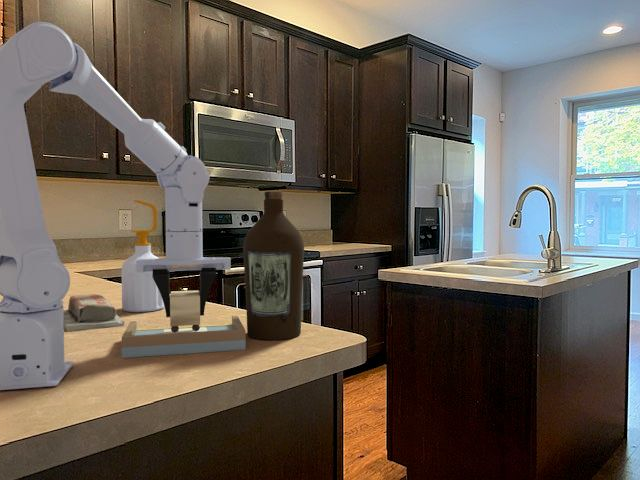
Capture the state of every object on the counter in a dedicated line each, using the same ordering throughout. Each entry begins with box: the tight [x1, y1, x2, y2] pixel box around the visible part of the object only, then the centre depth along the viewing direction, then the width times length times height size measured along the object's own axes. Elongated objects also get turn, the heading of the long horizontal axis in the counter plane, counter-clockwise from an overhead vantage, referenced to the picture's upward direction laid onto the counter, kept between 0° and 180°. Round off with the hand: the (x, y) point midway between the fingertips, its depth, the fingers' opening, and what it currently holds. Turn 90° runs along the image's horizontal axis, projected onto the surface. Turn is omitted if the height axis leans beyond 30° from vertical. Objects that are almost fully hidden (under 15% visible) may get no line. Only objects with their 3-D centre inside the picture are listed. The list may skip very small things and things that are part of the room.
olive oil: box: [242, 191, 305, 341], centre depth 87 cm, size 11×11×25 cm
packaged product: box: [63, 293, 125, 332], centre depth 100 cm, size 18×5×10 cm
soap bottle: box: [120, 199, 165, 313], centre depth 112 cm, size 9×9×25 cm
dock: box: [121, 315, 247, 359], centre depth 81 cm, size 12×18×3 cm, turn 105°
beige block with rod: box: [169, 289, 201, 333], centre depth 81 cm, size 8×4×6 cm, turn 15°
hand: (185, 315), depth 81 cm, fingers closed on beige block with rod, 4 cm apart
